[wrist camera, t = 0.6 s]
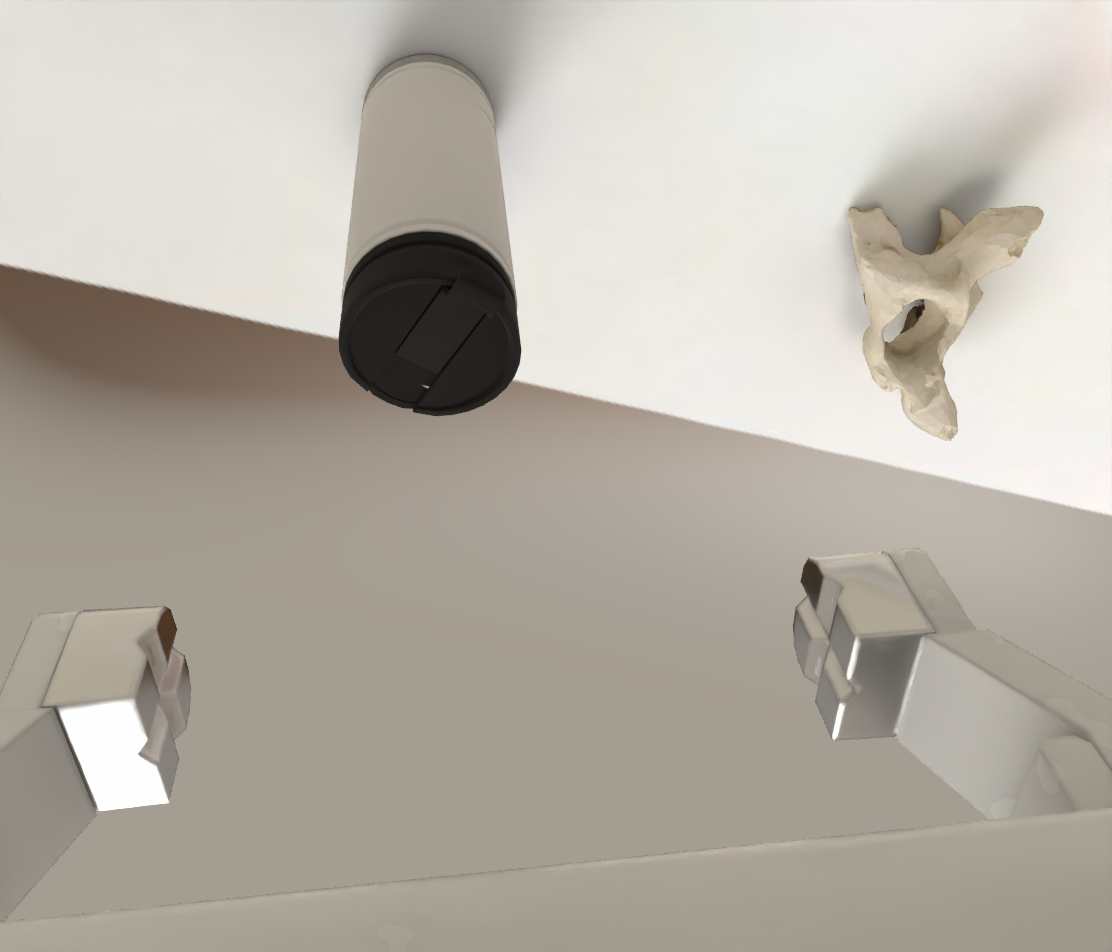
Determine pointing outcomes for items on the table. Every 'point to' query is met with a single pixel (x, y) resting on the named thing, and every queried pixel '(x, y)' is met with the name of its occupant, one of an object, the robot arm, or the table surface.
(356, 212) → the travel mug
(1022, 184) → the table surface
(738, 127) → the table surface
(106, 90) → the table surface
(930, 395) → the bone
